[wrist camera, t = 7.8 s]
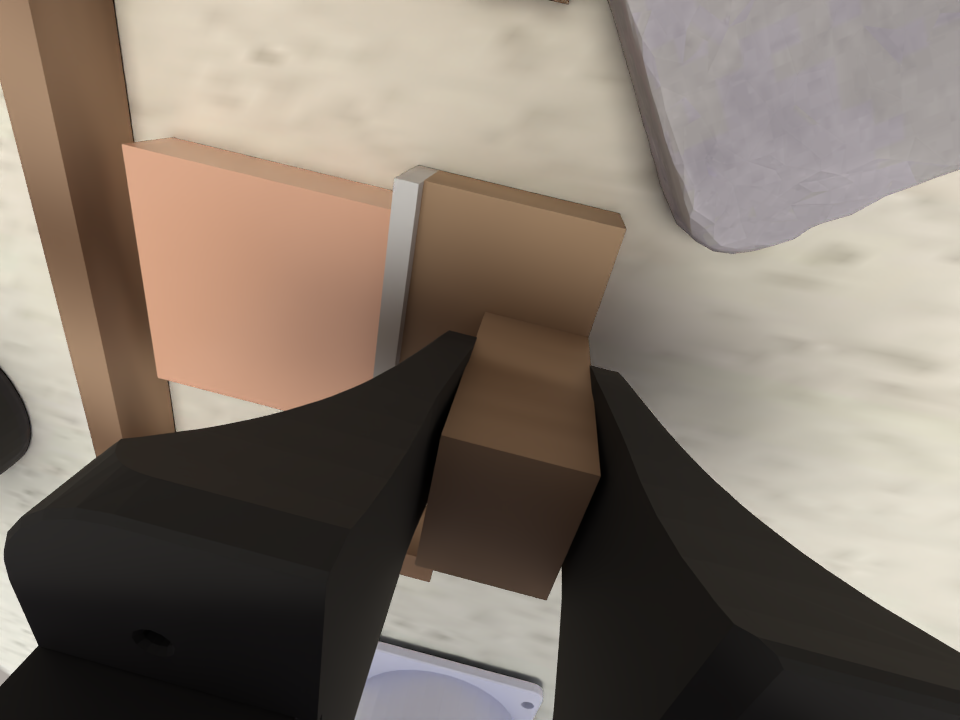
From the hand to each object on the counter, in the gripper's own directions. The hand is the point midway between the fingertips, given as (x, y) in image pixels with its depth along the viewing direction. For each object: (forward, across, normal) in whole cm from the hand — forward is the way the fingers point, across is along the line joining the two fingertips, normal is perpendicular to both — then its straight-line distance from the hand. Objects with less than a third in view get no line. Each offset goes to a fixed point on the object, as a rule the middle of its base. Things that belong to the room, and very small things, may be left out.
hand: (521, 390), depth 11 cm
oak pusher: (+3, +1, 0) cm, 3 cm away
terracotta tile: (+3, +6, 0) cm, 7 cm away
